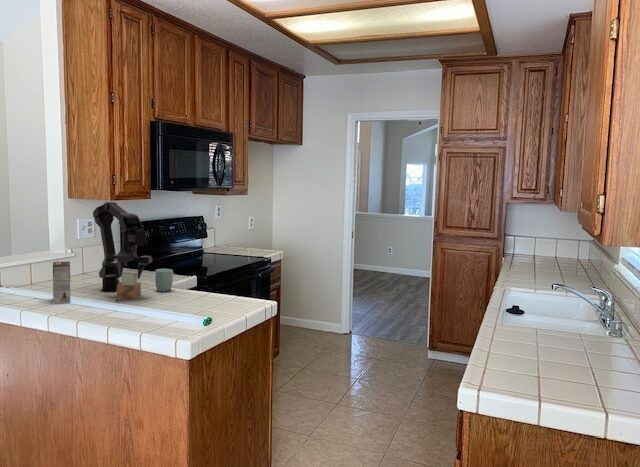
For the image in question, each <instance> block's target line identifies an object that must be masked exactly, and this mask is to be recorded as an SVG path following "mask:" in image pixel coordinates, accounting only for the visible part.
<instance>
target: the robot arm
mask: <svg viewBox="0 0 640 467" xmlns="http://www.w3.org/2000/svg"><path fill="white" fill-rule="evenodd" d="M92 216H93V218H94V223H96V225H97V226H98V227H99V229H100V236H101V243H102V248H103V253H104V258H103V260H102V262H101V265H102V266H101V268H100V270H99V272H98V277H99V278H100V279H102V284H101V285H102V287H101V288H102V289H100V291H101V292H113V293H114V292H117V285H118V284H119V283H120V281H121V280H120V278H122V274H123V273H124V272H123V271H124V266H123V263H129V262H138V264H137V267H138V268H137V280H138V279H140V278H141V276H142V274H143V272H144V271H143V270H144V269H145V267H146V266H147V265H149V264H151V263H153V257H152V255H142V256H140V257H139V256H138V254H137V248H138V246H139V247H142V246H144V245H146V244H147V242H148V236H147V234H145V233H144V230H143V224H142V223H141V220H140V218H139V216H138V215H137V214H135V213H132V212H131V213H130V212H127V211H126V210H125V209H124V208H122V207H121V206H119V205H118V203H117V202H115V201H112V202H111V201H108V202H104V203H103V204H102V205H99V206H97V207H96V208H95V209H94V210H93V211H92ZM114 218H115V219H117V220H118V225H120V228H121V230H120V233H122V239H121V240H122V245H121V247H120V251H119V252H117V253H116V246H115V242H114V234H113V230H112V224H113V221H114Z"/></svg>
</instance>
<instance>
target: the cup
mask: <svg viewBox="0 0 640 467" xmlns="http://www.w3.org/2000/svg"><path fill="white" fill-rule="evenodd" d="M154 276H155V277H154V280H155V282H154V283H155V288H156V290H157V291H158V292H161V293H163V292H169V291H171V290H172V287H173V283H174V282H173V281H174V280H173V279H174V270H173V269H171V268H170V269H169V268H159V269H158V268H157V269H155V275H154Z"/></svg>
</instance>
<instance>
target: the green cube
mask: <svg viewBox="0 0 640 467" xmlns="http://www.w3.org/2000/svg"><path fill="white" fill-rule="evenodd" d="M121 282H122V285H126V286H134V285H135V284H137V282H138V271H137V272H134V271H129V272H128V271H125V272H122V277H121Z"/></svg>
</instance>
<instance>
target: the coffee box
mask: <svg viewBox="0 0 640 467" xmlns="http://www.w3.org/2000/svg"><path fill="white" fill-rule="evenodd" d="M52 295H53V296H52V298H53V300H52V301H53V305H54V304H56V305H57V304H69V303H71V262H70V261H69V260H68V261H53V262H52Z"/></svg>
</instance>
